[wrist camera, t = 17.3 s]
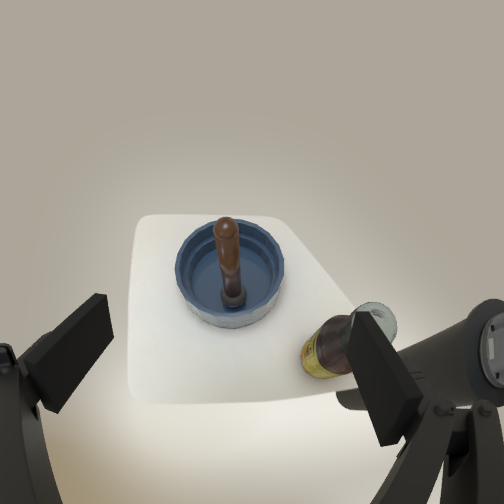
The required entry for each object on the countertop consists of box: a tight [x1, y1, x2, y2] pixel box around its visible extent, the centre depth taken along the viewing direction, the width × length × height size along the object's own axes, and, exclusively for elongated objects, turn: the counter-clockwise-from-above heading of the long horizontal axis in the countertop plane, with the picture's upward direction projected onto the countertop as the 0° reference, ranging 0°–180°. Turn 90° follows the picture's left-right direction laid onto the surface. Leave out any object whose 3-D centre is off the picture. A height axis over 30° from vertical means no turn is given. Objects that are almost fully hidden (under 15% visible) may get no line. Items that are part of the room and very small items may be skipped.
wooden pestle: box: [213, 217, 247, 307], centre depth 33 cm, size 4×4×19 cm
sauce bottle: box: [301, 302, 397, 379], centre depth 29 cm, size 7×6×20 cm
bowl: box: [175, 219, 284, 328], centre depth 41 cm, size 14×14×6 cm
